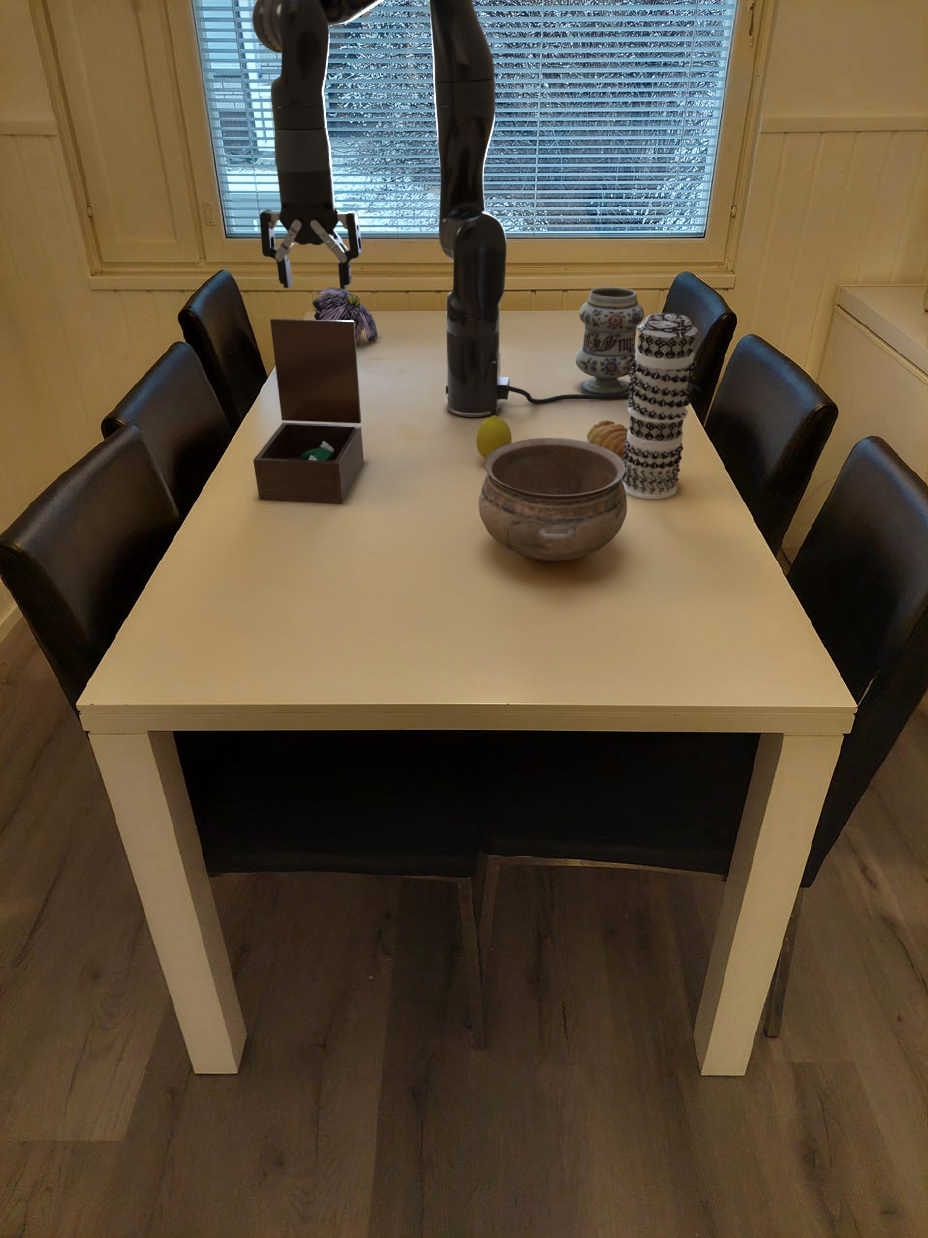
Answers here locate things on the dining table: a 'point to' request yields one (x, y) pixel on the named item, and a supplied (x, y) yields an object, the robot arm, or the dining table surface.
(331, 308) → the decorative flower
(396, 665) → the dining table surface
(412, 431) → the dining table surface
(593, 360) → the apothecary jar
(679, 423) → the decorative candle
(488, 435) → the lemon
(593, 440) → the pastry
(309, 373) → the case cover
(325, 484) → the case
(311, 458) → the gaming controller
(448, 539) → the dining table surface
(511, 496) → the cooking pot
